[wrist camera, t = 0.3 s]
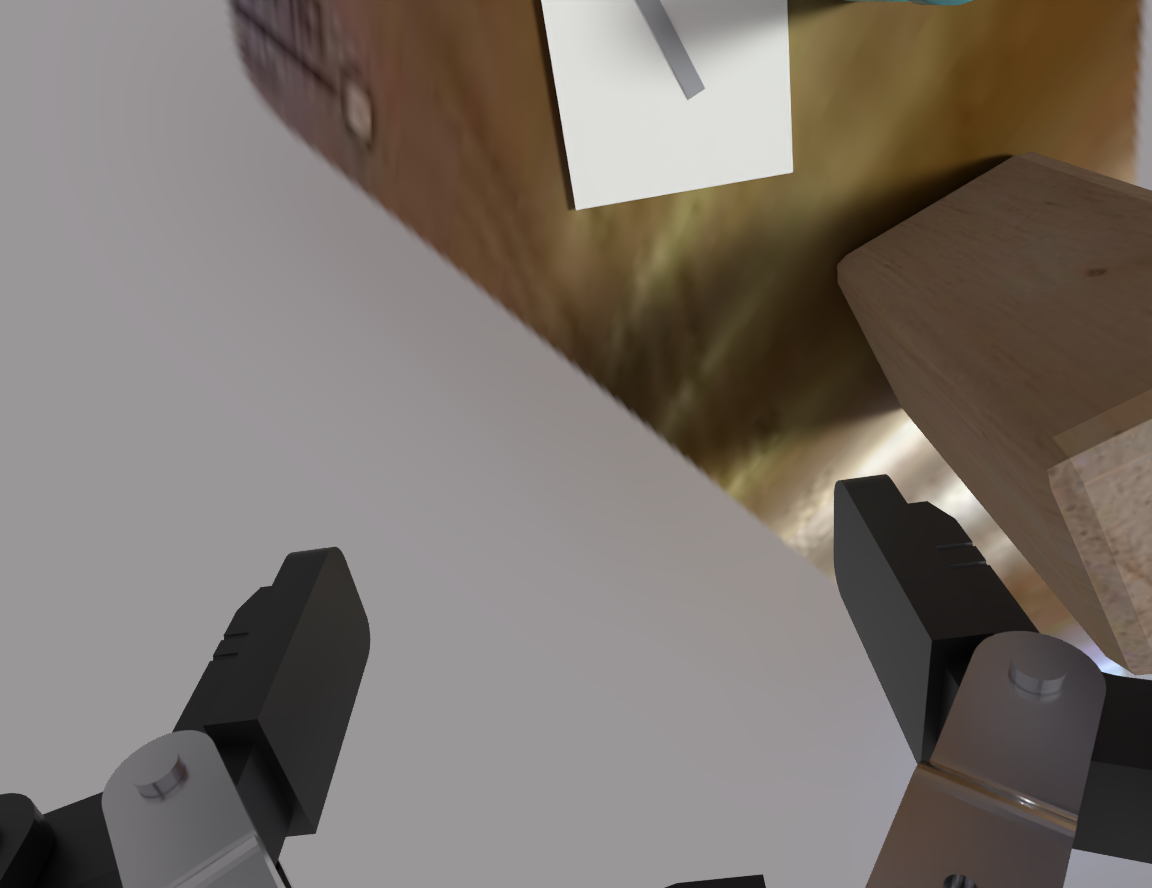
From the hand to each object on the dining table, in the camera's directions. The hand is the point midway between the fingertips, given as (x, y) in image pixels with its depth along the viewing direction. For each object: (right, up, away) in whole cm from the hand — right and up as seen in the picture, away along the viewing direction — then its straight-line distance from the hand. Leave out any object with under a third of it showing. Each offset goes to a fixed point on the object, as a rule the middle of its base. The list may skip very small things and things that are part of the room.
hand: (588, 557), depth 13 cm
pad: (+4, +20, +20) cm, 29 cm away
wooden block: (+19, +10, +27) cm, 34 cm away
